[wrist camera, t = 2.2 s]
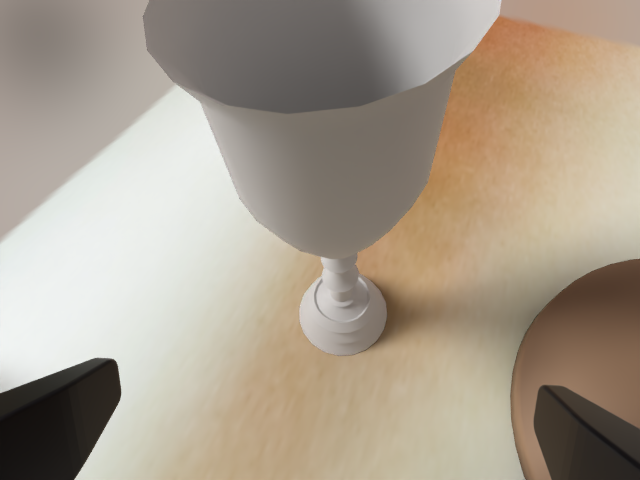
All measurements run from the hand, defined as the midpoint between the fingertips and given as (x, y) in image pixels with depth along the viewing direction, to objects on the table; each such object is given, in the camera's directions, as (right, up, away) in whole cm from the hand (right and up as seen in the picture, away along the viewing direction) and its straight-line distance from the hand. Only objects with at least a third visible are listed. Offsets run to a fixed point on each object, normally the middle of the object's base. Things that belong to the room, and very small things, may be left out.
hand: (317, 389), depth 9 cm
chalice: (+1, -1, +15) cm, 15 cm away
